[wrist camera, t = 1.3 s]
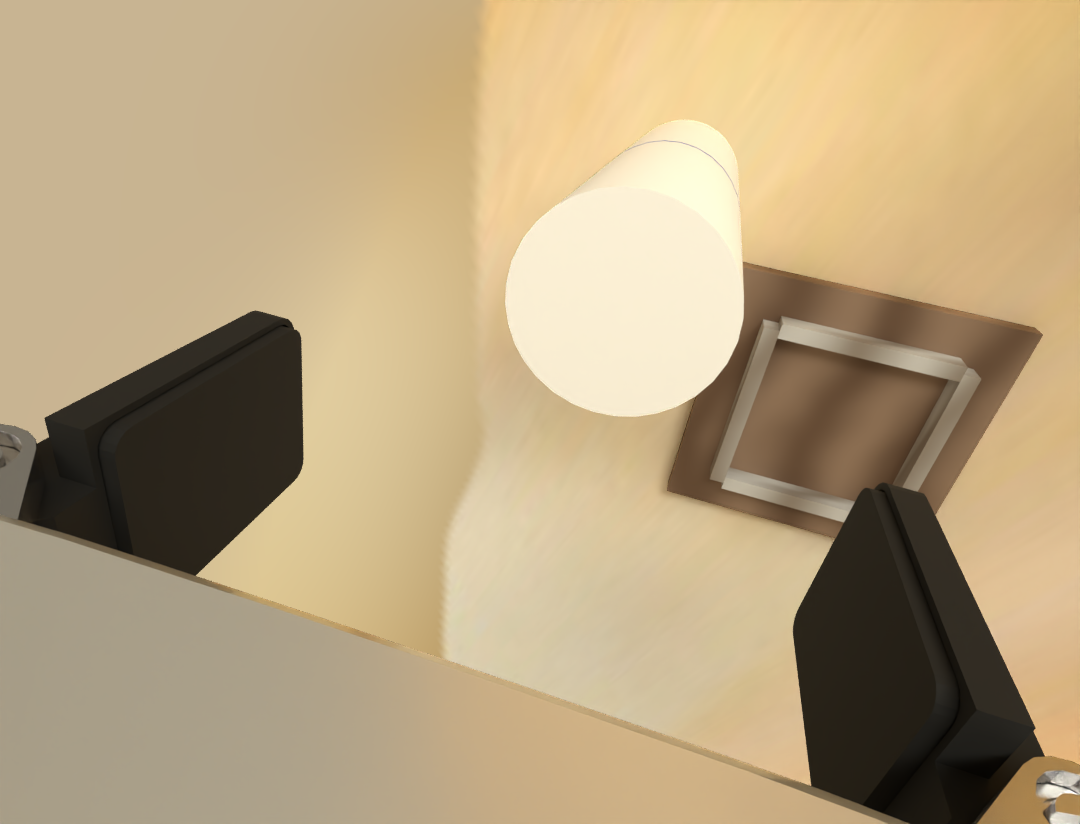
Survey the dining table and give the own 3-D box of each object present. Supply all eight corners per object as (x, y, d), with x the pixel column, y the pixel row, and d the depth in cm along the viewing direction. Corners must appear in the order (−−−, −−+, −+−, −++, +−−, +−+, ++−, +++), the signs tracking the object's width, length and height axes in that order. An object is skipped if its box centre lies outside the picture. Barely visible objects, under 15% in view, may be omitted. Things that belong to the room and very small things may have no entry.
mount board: (1034, 327, 39) (1053, 344, 37) (905, 548, 48) (913, 572, 46) (738, 261, 42) (739, 272, 40) (668, 481, 51) (665, 501, 49)
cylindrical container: (751, 216, 40) (773, 385, 19) (643, 254, 43) (556, 438, 22) (719, 99, 38) (701, 143, 17) (606, 147, 41) (468, 238, 19)
